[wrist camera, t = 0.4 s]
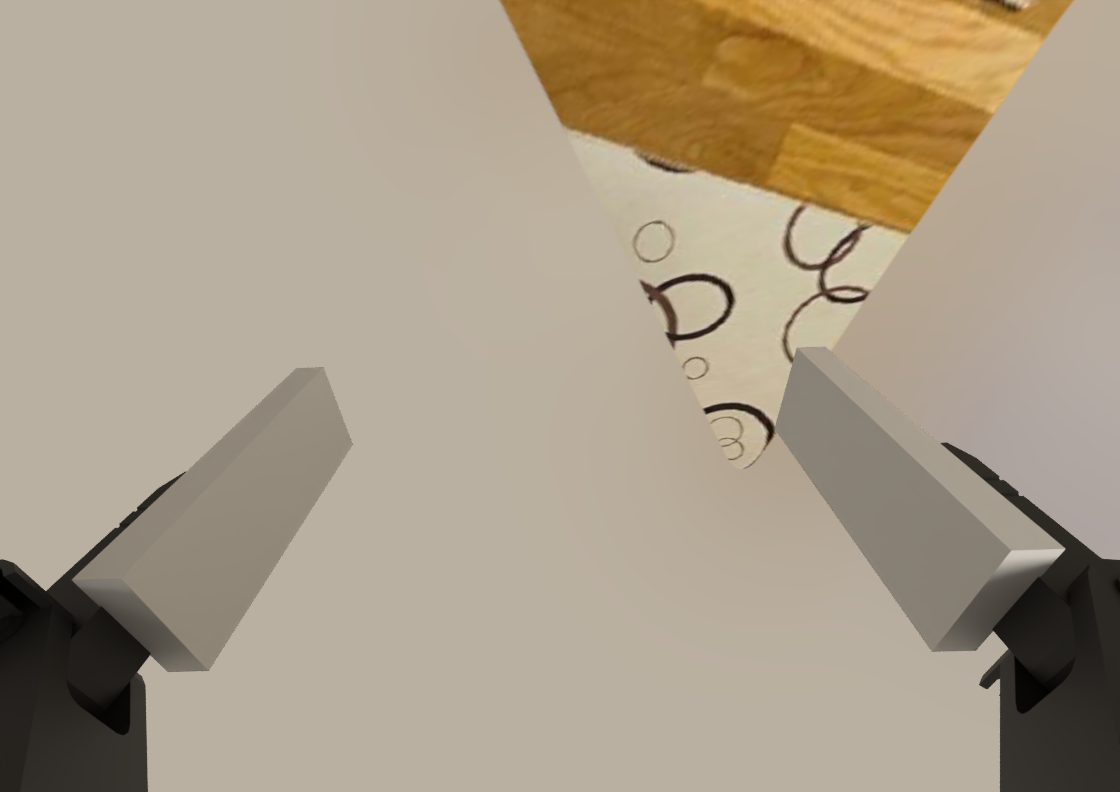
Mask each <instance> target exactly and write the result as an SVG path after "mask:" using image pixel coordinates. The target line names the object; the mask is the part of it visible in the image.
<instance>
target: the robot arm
mask: <svg viewBox="0 0 1120 792" xmlns="http://www.w3.org/2000/svg"><path fill="white" fill-rule="evenodd" d="M775 430H776V431H777V433H778V434H779V436H780V437H781V438H782V440H783V441H784V443H785V444H786V445H787V447H788V448H789V450H790V451H791V452H792V454H793V455H794V457H795V458H796V459H797V461H798V462H799V464H800V465H801V467H802V468H803V470H804V471H805V472H806V474H807V475H808V477H809V478H810V479H811V481H812V482H813V484H814V485H815V487H816V488H817V489H818V491H819V492H820V494H821V495H822V496H823V498H824V499H825V501H826V502H827V504H828V505H829V506H830V508H831V509H832V511H833V512H834V513H835V515H836V516H837V518H838V519H839V520H840V522H841V523H842V525H843V526H844V528H845V529H846V530H847V532H848V533H849V534H850V536H851V537H852V539H853V540H854V542H855V543H856V545H857V546H858V547H859V549H860V550H861V552H862V553H863V555H864V556H865V557H866V559H867V560H868V562H869V563H870V564H871V566H872V567H873V569H874V570H875V572H876V573H877V574H878V576H879V577H880V578H881V580H882V581H883V583H884V584H885V586H886V587H887V588H888V590H889V591H890V593H891V594H892V596H893V597H894V598H895V600H896V601H897V603H898V604H899V605H900V607H901V608H902V610H903V611H904V613H905V614H906V615H907V617H908V618H909V620H910V621H911V623H912V624H913V625H914V627H915V628H916V630H917V631H918V632H919V634H920V635H921V637H922V638H923V640H924V641H925V642H926V644H927V645H928V647H929V648H930V649H931V651H932V652H936V651H972V650H973V651H974V650H977V649H978V647H979V646H980V645H981V644H982V643H983V642H984V641H985V640H986V638H987V637H988V636H989V635H990V634H991V633H992V632H993V631H994V632H995V633H996V634H997V635H998V637H999V638H1000V639H1001V640H1002V641H1003V642H1004V643H1005V645H1006V646H1007V647H1008V648H1009V649H1008V650H1007V651H1006V652H1005V653H1004V654H1003V655H1002V656H1001V657H1000V659H998V661H996V662H995V664H994V665H993V666H992V667H991V668H990V669H989V670H988V671H987V672H986V673H985V674H984V675H983V677H982V679H981V681H980V684H979V685H980V686H982V687H984V688H985V689H988V688H989V687H990V686H991V685H992V684H993V683H994V682H995V681H996V680H997V679H1000V695H999V696H1000V792H1120V560H1111V559H1110V560H1109V559H1102V558H1100V557H1099V556H1098V555H1096V554H1095V553H1094V552H1093V551H1091V550H1090V549H1089V548H1087V547H1086V546H1085V545H1084V544H1083V543H1081V542H1080V541H1079V540H1078V539H1076V538H1075V537H1074V536H1073V535H1071V534H1070V533H1069V532H1068V531H1066V530H1065V529H1064V528H1062V526H1060V525H1059V524H1058V523H1057V522H1055V521H1054V520H1053V519H1052V518H1050V517H1049V516H1048V515H1046V514H1045V513H1044V512H1043V511H1042V510H1040V509H1039V508H1038V507H1036V506H1035V505H1034V504H1033V503H1031V502H1030V501H1029V500H1028V499H1027V498H1025V497H1024V496H1019V494H1018V491H1017V490H1015V489H1014V488H1013V487H1011V486H1010V485H1009V484H1008V483H1007V482H1006V481H1004V480H1000V479H999V476H998V475H997V474H996V473H994V472H993V471H992V470H991V469H989V468H988V467H987V466H986V465H984V464H983V463H982V462H980V461H979V460H978V459H977V458H975V457H973V456H971V455H970V454H968V453H966V452H964V451H962V450H960V449H958V448H956V447H954V446H952V445H950V444H949V443H939V442H938V441H937V440H936V439H934V438H933V437H932V436H931V435H930V434H928V433H927V432H926V431H925V430H924V429H922V428H921V427H920V426H919V425H918V424H917V423H915V422H914V421H913V420H912V419H910V418H909V417H908V416H907V415H906V414H905V413H904V412H902V411H901V410H900V409H899V408H898V407H896V406H895V405H894V404H893V403H892V402H890V401H889V400H888V399H887V398H886V397H884V396H883V395H882V394H881V393H880V392H879V391H877V390H876V389H875V388H874V387H873V386H871V385H870V384H869V383H868V382H867V381H865V380H864V379H863V378H862V377H861V376H860V375H858V374H857V373H856V372H855V371H853V370H852V369H851V368H850V367H849V366H848V365H846V364H845V363H844V362H843V361H842V360H840V359H839V358H838V357H837V356H836V355H835V354H833V353H832V352H831V351H830V350H829V349H827V348H826V347H804V348H797V349H796V353H795V357H794V360H793V364H792V367H791V371H790V375H789V378H788V382H787V386H786V389H785V393H784V397H783V400H782V404H781V408H780V411H779V415H778V418H777V422H776V426H775ZM352 445H353V443H352V441H351V438H350V436H349V433H348V430H347V428H346V425H345V423H344V420H343V417H342V415H341V412H340V410H339V407H338V404H337V402H336V399H335V396H334V394H333V391H332V389H331V386H330V383H329V381H328V378H327V376H326V373H325V370H324V368H323V367H319V368H318V367H316V368H296V369H295V370H294V371H293V372H292V373H291V374H290V375H289V376H288V377H287V378H286V379H285V380H284V381H282V382H281V383H280V384H279V385H278V386H277V387H276V388H275V389H274V390H273V391H272V392H271V393H270V394H269V395H267V396H266V397H265V398H264V399H263V400H262V401H261V402H260V403H259V404H258V405H257V406H256V407H255V408H254V409H253V410H252V411H250V412H249V413H248V414H247V415H246V416H245V417H244V418H243V419H242V420H241V421H240V422H239V423H238V424H237V425H236V426H235V427H233V428H232V429H231V430H230V431H229V432H228V433H227V434H226V435H225V436H224V437H223V438H222V439H221V440H220V441H219V442H218V443H216V444H215V445H214V446H213V447H212V448H211V449H210V450H209V451H208V452H207V453H206V454H205V455H204V456H203V457H202V458H200V460H198V461H197V462H196V463H195V464H194V465H193V466H192V467H191V468H190V469H189V470H188V471H187V472H184V473H182V474H181V475H179V476H177V477H176V478H174V479H173V480H171V481H169V482H168V483H166V484H165V485H163V486H161V487H160V488H158V489H157V490H156V491H155V492H154V493H153V494H152V495H150V496H149V497H148V498H147V499H146V500H145V501H144V502H143V503H142V504H141V505H140V506H138V507H137V511H136V512H132V513H131V514H130V515H129V516H128V517H126V518H125V520H123V521H122V522H121V523H120V527H119V528H115V529H114V530H112V531H111V532H110V533H109V534H108V535H107V536H106V537H105V538H104V539H102V540H101V541H100V542H99V543H98V544H97V545H96V546H95V547H94V548H93V549H92V550H90V551H89V552H88V553H87V554H86V555H85V556H84V557H83V558H82V559H81V560H80V561H78V562H77V563H76V564H75V565H74V566H73V567H72V568H71V569H70V570H69V571H67V572H66V573H65V574H64V575H63V576H62V577H61V578H60V579H59V580H58V581H57V582H55V583H54V584H53V585H52V586H51V587H50V588H49V589H48V590H47V591H45V590H44V589H43V588H41V587H40V586H39V585H38V584H37V583H36V582H35V581H34V580H32V579H31V578H30V577H29V576H28V575H27V574H26V573H24V572H23V571H22V570H21V569H20V568H19V567H18V566H17V565H15V564H14V563H12V562H9V561H6V560H3V559H2V560H0V792H148V785H147V784H148V781H147V737H146V692H145V691H146V690H145V683H144V681H143V678H142V676H140V675H139V674H138V673H137V671H138V670H139V669H140V667H141V666H142V665H143V663H144V662H145V661H146V660H147V658H148V657H149V656H150V655H151V656H152V657H153V658H154V659H155V660H156V661H157V662H158V663H159V664H160V665H161V666H162V667H163V668H164V669H166V671H168V672H182V671H209V669H210V668H211V666H212V665H213V663H214V662H215V660H216V658H217V657H218V655H219V654H220V652H221V651H222V649H223V647H224V646H225V644H226V643H227V641H228V640H229V638H230V637H231V635H232V633H233V632H234V630H235V629H236V627H237V626H238V624H239V622H240V621H241V619H242V618H243V616H244V615H245V613H246V611H247V610H248V608H249V607H250V605H251V604H252V602H253V600H254V599H255V597H256V596H257V594H258V593H259V591H260V589H261V588H262V586H263V585H264V583H265V581H266V580H267V578H268V577H269V575H270V574H271V572H272V571H273V569H274V567H275V566H276V564H277V563H278V561H279V560H280V558H281V556H282V555H283V553H284V552H285V550H286V549H287V547H288V545H289V544H290V542H291V541H292V539H293V538H294V536H295V534H296V533H297V531H298V530H299V528H300V527H301V525H302V524H303V522H304V520H305V519H306V517H307V515H308V514H309V512H310V511H311V509H312V508H313V506H314V505H315V503H316V502H317V500H318V498H319V497H320V495H321V494H322V492H323V491H324V489H325V487H326V486H327V484H328V482H329V481H330V480H331V478H332V476H333V475H334V473H335V472H336V470H337V468H338V467H339V465H340V464H341V462H342V461H343V459H344V458H345V456H346V454H347V453H348V451H349V450H350V448H351V446H352Z"/></svg>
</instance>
